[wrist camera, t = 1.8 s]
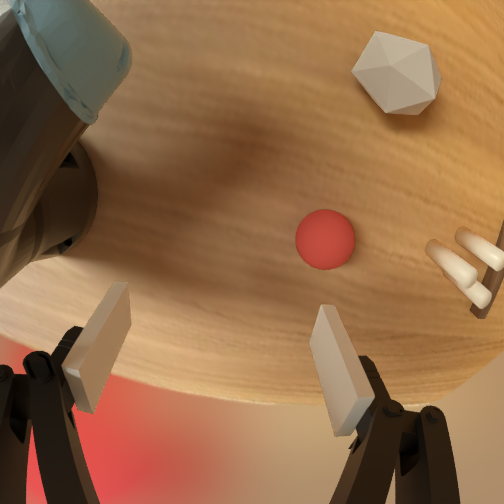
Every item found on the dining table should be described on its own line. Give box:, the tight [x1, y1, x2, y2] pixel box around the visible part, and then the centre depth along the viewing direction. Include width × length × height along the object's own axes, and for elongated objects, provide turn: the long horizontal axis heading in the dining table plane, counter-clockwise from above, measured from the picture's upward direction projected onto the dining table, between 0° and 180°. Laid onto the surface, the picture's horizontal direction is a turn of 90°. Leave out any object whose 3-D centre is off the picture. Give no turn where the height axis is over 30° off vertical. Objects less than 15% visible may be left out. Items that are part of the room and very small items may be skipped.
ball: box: [296, 209, 355, 270], centre depth 30 cm, size 6×6×6 cm
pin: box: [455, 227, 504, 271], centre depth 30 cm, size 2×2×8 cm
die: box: [351, 31, 442, 115], centre depth 23 cm, size 8×9×10 cm
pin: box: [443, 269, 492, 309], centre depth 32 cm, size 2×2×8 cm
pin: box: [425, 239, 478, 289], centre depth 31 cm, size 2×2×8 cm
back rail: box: [470, 221, 504, 319], centre depth 35 cm, size 2×18×2 cm, turn 172°
